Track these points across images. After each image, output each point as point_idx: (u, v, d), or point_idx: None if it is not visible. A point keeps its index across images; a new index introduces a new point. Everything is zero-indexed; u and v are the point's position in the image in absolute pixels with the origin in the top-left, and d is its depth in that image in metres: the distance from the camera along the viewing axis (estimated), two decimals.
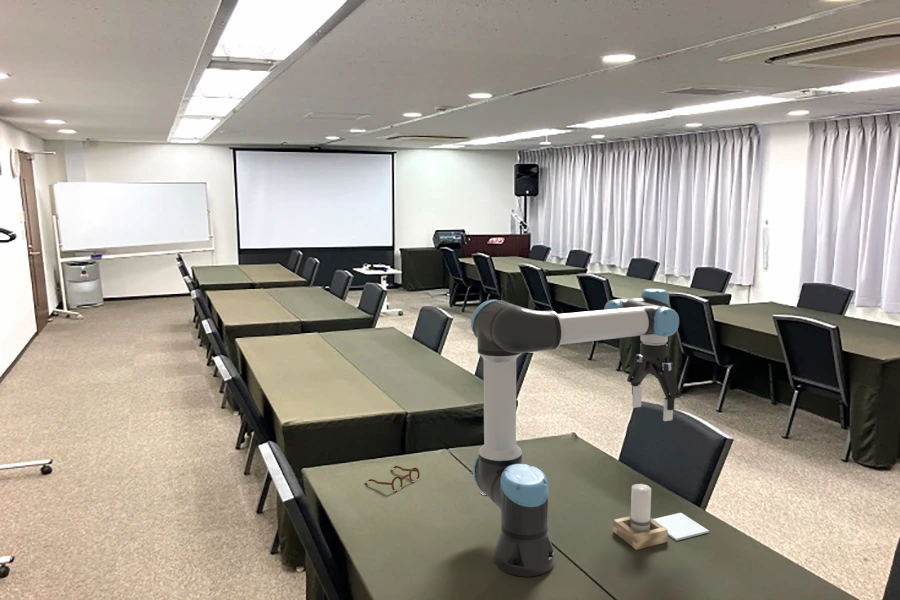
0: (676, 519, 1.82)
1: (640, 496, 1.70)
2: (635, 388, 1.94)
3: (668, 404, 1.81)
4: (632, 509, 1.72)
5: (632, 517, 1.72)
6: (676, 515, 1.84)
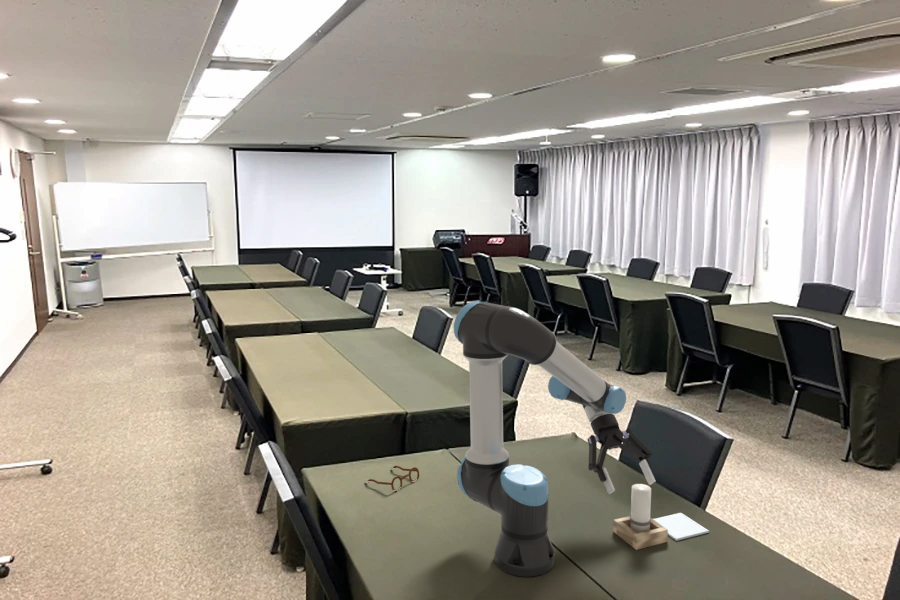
0: (676, 519, 1.82)
1: (640, 496, 1.70)
2: None
3: (648, 465, 1.83)
4: (632, 509, 1.72)
5: (632, 517, 1.72)
6: (676, 515, 1.84)
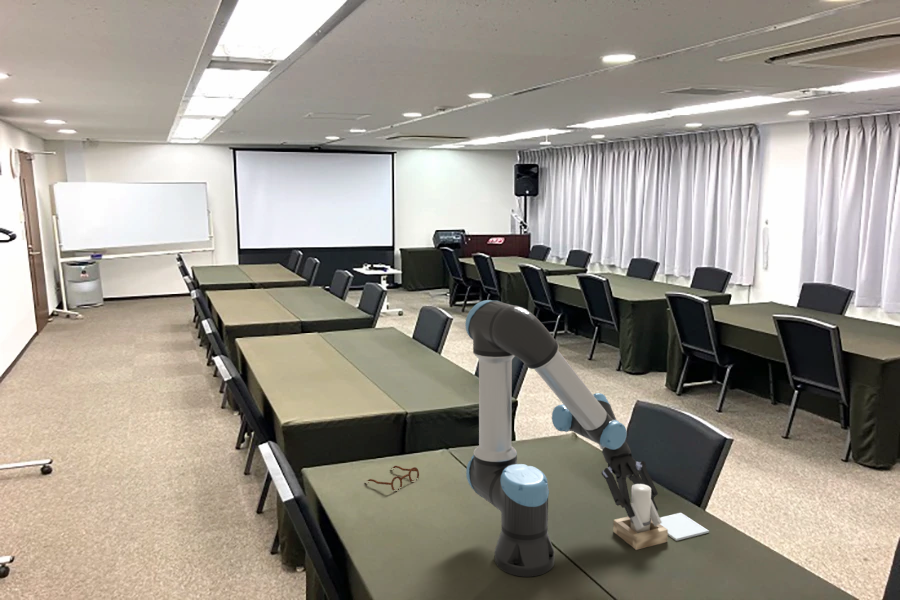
0: (676, 519, 1.82)
1: (641, 496, 1.70)
2: None
3: None
4: None
5: None
6: (676, 515, 1.84)
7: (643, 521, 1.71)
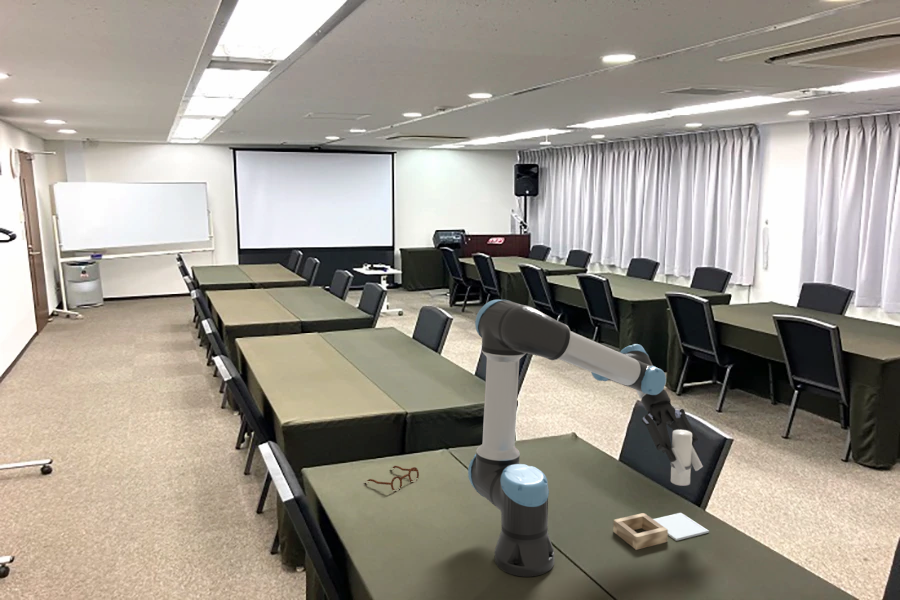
0: (676, 519, 1.82)
1: (682, 440, 1.72)
2: None
3: (694, 450, 1.76)
4: None
5: None
6: (676, 515, 1.84)
7: (684, 465, 1.73)
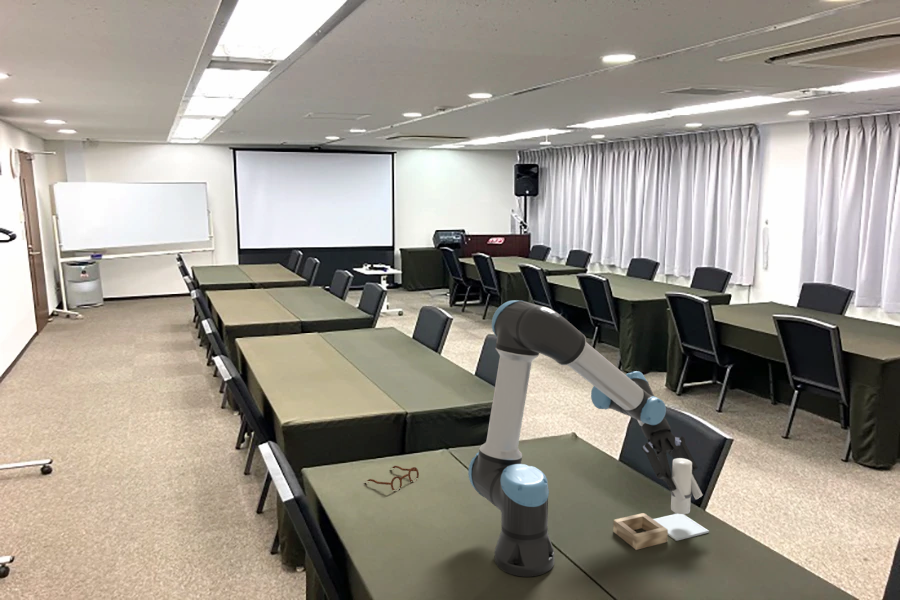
0: (676, 519, 1.82)
1: (682, 469, 1.74)
2: None
3: (694, 478, 1.77)
4: None
5: None
6: (676, 515, 1.84)
7: (684, 494, 1.75)
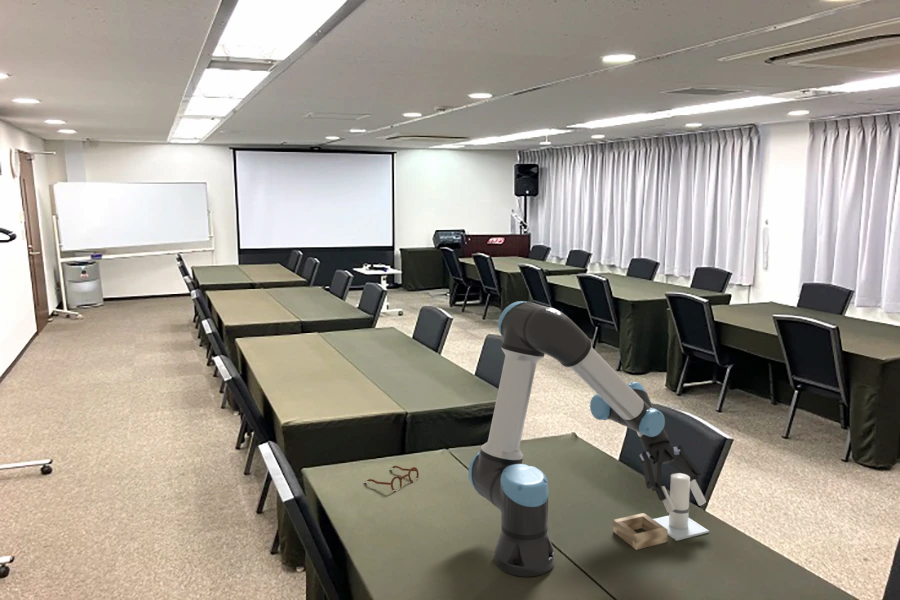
0: None
1: (680, 484, 1.74)
2: None
3: (697, 485, 1.79)
4: (671, 497, 1.77)
5: None
6: None
7: (682, 509, 1.75)
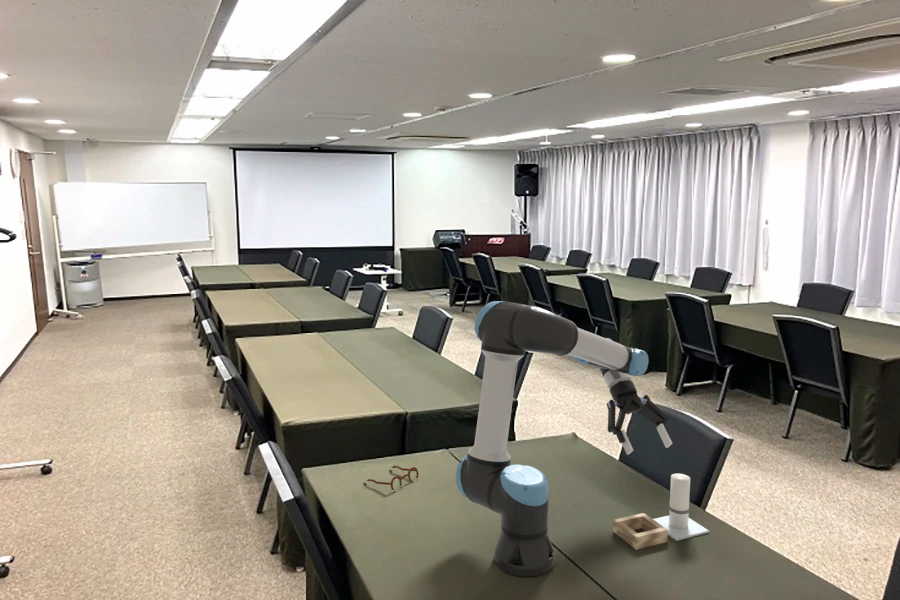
0: None
1: (680, 485, 1.74)
2: None
3: (665, 429, 1.91)
4: (671, 498, 1.77)
5: (671, 506, 1.77)
6: None
7: (682, 509, 1.75)
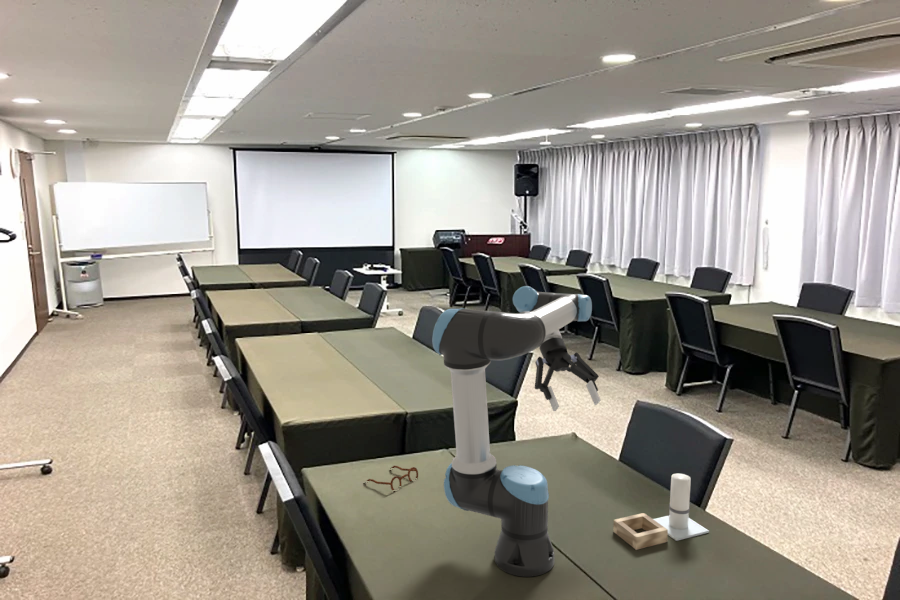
0: None
1: (681, 485, 1.74)
2: None
3: (594, 386, 1.87)
4: (672, 498, 1.77)
5: (671, 505, 1.77)
6: None
7: (682, 509, 1.75)
